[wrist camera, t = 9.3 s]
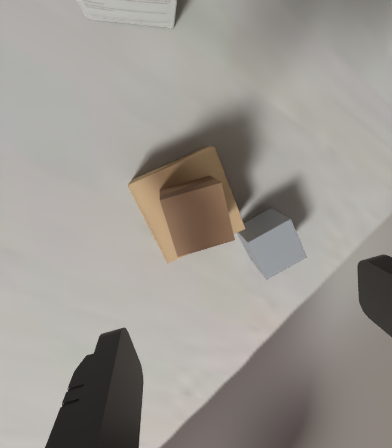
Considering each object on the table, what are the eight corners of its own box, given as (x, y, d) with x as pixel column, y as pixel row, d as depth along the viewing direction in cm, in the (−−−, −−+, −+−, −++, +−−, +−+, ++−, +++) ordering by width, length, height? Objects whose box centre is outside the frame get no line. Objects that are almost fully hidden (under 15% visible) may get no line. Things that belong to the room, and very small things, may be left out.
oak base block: (206, 146, 26) (214, 146, 22) (233, 217, 28) (245, 228, 24) (132, 179, 26) (127, 185, 22) (166, 247, 28) (167, 263, 24)
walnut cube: (209, 175, 23) (221, 182, 18) (221, 223, 24) (234, 240, 20) (159, 189, 22) (159, 200, 18) (174, 236, 24) (177, 257, 20)
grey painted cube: (270, 207, 28) (290, 218, 24) (285, 241, 30) (307, 257, 25) (234, 227, 28) (247, 242, 24) (251, 260, 30) (266, 279, 26)
